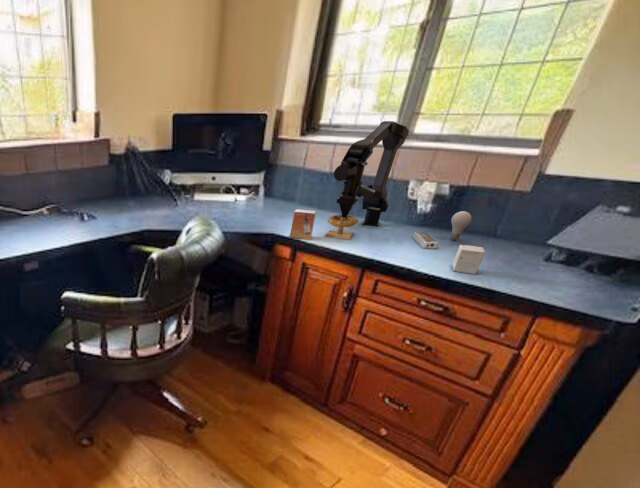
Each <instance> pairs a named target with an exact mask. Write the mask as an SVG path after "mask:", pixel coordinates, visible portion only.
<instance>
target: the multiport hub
mask: <svg viewBox="0 0 640 488" xmlns="http://www.w3.org/2000/svg"><path fill="white" fill-rule="evenodd" d="M412 237H413V240H414V241H416V242H417V243H418V245H420V247H422V248H423V249H433V250H436V249H437V248H438V246H439V241H437V240H436V239H435V238H434V237H433V236H432V235H430V233H428V232H424V231H423V232H422V231H415V232H414V234H413V236H412Z"/></svg>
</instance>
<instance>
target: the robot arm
mask: <svg viewBox="0 0 640 488" xmlns="http://www.w3.org/2000/svg"><path fill="white" fill-rule="evenodd" d="M409 131H410V130H409V128H408V126H406V125H403V124H400V123H398V122H397V121H394V120H384V121H381V122H380V124H379V126H377V127H376V128H375V129H373V131H372V132H370V133H369V134H368V135H367V136H366V137H365V138H363V139H360V140H356V141H355V142H353V143H352V144H350V147H349V148H348V149H347V151H346V153H345V154H344V157H343V158H342V160H341V162H340V165H338V166H336V168H335V169H334V171H333V177H334V179H335V180H336V181H338V182H343V190H342V191H341V194H340V195H339V196H338V197H336V202H335V203H336V204H339V208H340V212H341V214H342V217H344V218H346V217H347V215H350V212H351V209H352V208H353V206H354V205H355V204H356V202H359V198H361V197H363V198H362V210H366V212H365V215H364V220H363V221H362V223H361V225H362V226H372V227H379V225H380V224H381V222H380V218H381V214H382V213H386V211H388V208H389V203H388V200H387V197H388V191H387V188H386V187H387V183H388V180H389V177H390V174H391V170H392V168H393V164H394V161H395V157H396V156H397V152H398V150H399V149H400V148H401V147H402V146H403V145H404V144H405V142H406V139H407V138H408V137H409ZM380 143H382V147H383V152H382V154H381V157H380V161H379V164H378V167H377V171H376V174H375V177H374V179H373V182H372V183H371V184H369V185H364V184H363V183H364V181H363V180H362V179H363V176H364V170H365V166H368V162H367V161H368V159H369V158H370V157H371V156H372V154H373V152H374V148H375V147H377V145H379V144H380ZM357 197H358V198H357Z"/></svg>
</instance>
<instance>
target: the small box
mask: <svg viewBox="0 0 640 488" xmlns="http://www.w3.org/2000/svg"><path fill="white" fill-rule="evenodd" d="M316 216H317V210H309V209H308V210H307V209H298V208H296V209H295V210H294V212H293V216H292V222H291V227H290V233H289V238H295V239H303V240H310V239H311V237H312V235H313V230H314V225H315V220H316Z"/></svg>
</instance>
